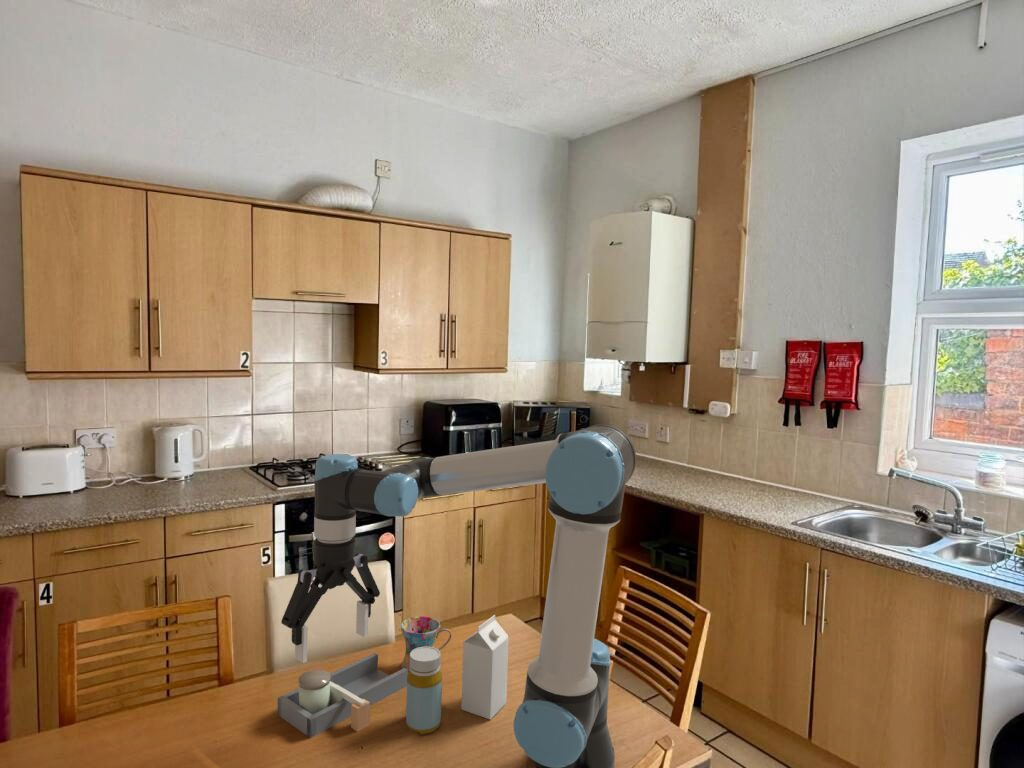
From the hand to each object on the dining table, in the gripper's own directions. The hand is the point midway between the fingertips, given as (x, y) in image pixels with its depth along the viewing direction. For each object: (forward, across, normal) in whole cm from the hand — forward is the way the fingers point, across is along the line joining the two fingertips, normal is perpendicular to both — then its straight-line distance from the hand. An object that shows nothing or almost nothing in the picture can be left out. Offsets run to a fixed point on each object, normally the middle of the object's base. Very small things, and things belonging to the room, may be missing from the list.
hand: (332, 646), depth 122 cm
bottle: (+19, -16, +9) cm, 26 cm away
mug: (+19, -31, -7) cm, 38 cm away
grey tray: (+19, -10, -9) cm, 23 cm away
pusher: (+18, -6, -6) cm, 20 cm away
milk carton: (+19, -29, +14) cm, 37 cm away
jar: (+18, -2, -9) cm, 20 cm away
